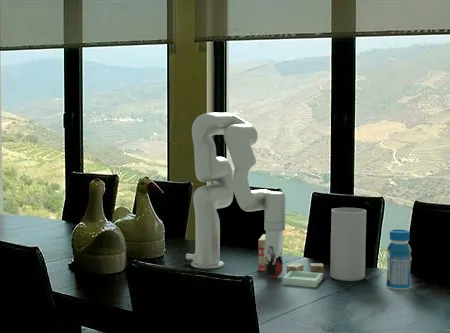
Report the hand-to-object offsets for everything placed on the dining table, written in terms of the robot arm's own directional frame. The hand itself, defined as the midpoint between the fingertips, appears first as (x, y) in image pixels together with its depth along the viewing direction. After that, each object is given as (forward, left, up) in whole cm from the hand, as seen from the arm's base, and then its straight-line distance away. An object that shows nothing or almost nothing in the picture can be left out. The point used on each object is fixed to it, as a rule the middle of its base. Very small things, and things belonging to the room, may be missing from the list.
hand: (274, 272), depth 262 cm
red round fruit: (0, 0, -3) cm, 3 cm away
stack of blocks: (-7, +22, -3) cm, 23 cm away
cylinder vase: (+25, +11, -3) cm, 27 cm away
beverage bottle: (+44, +2, -3) cm, 44 cm away
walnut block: (+14, +9, -3) cm, 17 cm away
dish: (+11, -1, -2) cm, 11 cm away
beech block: (+6, +8, -3) cm, 10 cm away
